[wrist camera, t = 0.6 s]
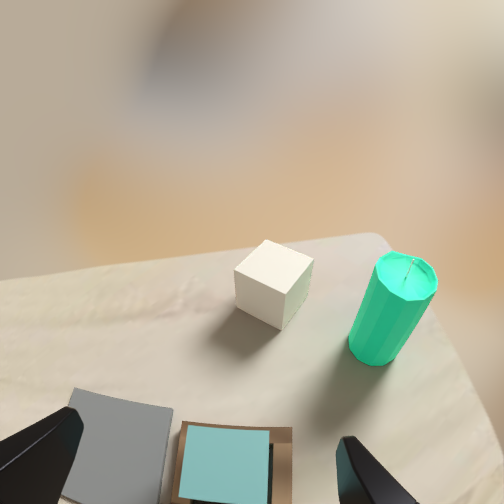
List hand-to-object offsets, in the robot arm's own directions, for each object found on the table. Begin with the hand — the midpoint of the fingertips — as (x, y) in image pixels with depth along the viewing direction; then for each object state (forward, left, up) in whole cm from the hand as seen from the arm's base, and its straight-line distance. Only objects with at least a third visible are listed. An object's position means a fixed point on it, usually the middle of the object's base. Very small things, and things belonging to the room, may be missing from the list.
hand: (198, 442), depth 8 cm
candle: (+14, -14, -17) cm, 26 cm away
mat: (0, +11, -17) cm, 20 cm away
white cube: (+20, -3, -17) cm, 27 cm away
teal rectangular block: (0, 0, -17) cm, 17 cm away
